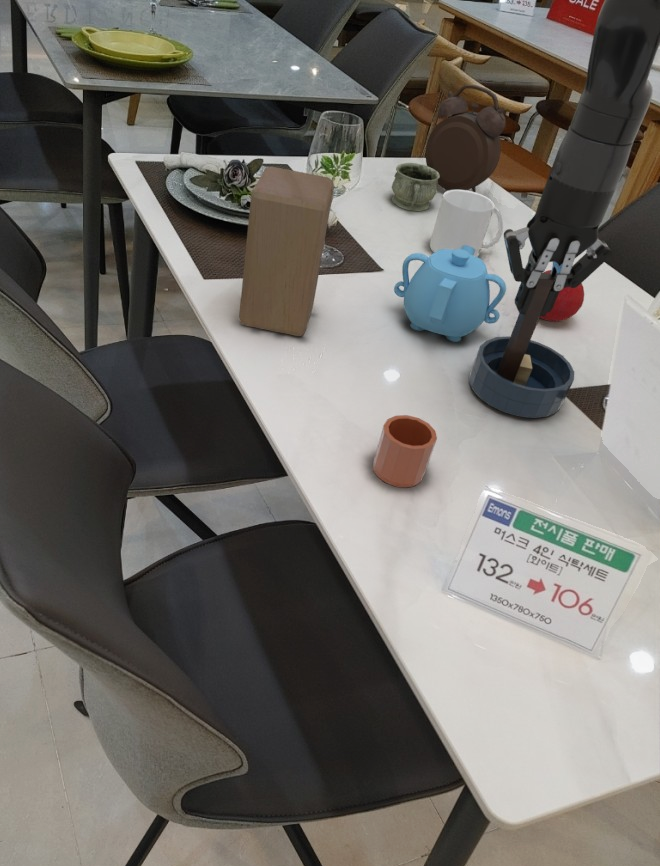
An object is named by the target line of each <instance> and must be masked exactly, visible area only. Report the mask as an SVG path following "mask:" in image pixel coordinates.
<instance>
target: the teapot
mask: <svg viewBox="0 0 660 866" xmlns="http://www.w3.org/2000/svg"><path fill="white" fill-rule="evenodd" d="M474 253H475V249H474V248H473V247H470V246H467V245H463V246H462V247H461V249H454V250H451V249H441V250H438V251H436V252H432V254H431V255H429V256H428V255H426V254H425V253H422V252H414V253H411V254H408V256H407V257H405V259H404V261H403V263H402V266H401V267H402V269H401V270H402V281H397V282H396V283H395V285H394V286H393V292H394V294H395V295H396V296H398V297H399V298H403V308H404V311H405V313H406V316H407V318H408V320H409V322H411V323H410V327H411V329H413V330H415V331H420V332H422V331H424V330H425V331H427V332H428V331H429V332H432V333H435V334H437V335H438V334H439V335H443V336H445V337H446V339H447V340H449V341H450V342H455V343H458V342H460V341H461V340H462V337H464V336H467V335H469V334H470V333H473V332H474V331H475V330H476V329H478V328H479V327H481V325H482V324H483V322H485V323H486V324H489V325H491V324H496V323H497V322H498V320H499V319H500V312H499V311H498V309H495V308H496V307H497V306H498V305H499V304H500V302H501V301H502V300H503V298H504V297H505V294H506V291H507V285H506V282H505V280H504V279H503V278H502V277H501V276H499V275H497V274H494V273H488V270H487V264H486V263H485V262H484V261H483V260H482V259H481V258H480V257H479V256H478V257H476V256H473V255H474ZM412 261H420V262H422V264H421V265H420V266H419V268H418V269H417V270H416V271H415V273H414V274H413V276H412V277H411V279H410V275H409V266H410V263H411V262H412ZM490 282H493V283H495V284H496V285H497V286H498V287H499V291H498V294H497V295H496V297H495V298H494V299H493V301H492V302H491V303H490V300H491V287H490ZM400 287H403V290H402V289H400ZM491 314H493V315H494V316H493V317H492V316H490V315H491Z"/></svg>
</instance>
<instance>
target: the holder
mask: <svg viewBox="0 0 660 866" xmlns="http://www.w3.org/2000/svg"><path fill="white" fill-rule="evenodd" d="M436 432H437V431H436V430H435V428H434V427H433V426H432V425H431V424H430V423H429V422H427V421H425V420H423V419H422V418H419V417H417V416H412V415H408V414H407V415H406V414H402V415H393V416H391V417H389V418H388V419H386V420H385V422H384V424H383V425H382V429H381V433H380V437H379V441H378V443H377V447H376V451H375V454H374V458H373V465H372V469H373V472H374V473H375V475H376V476H377V477H378V478H379V479H380V480H381V481H382V482H384V483H386V484H387V485H390V486H393V487H397V488H411V487H415V486H417V485H419V484H420V483H421V482H422V480H423V479H424V476H425V474H426V472H427V468H428V466H429V463H430V460H431V457H432V454H433V451H434V448H435V446H436V443H437V440H438V438H437V437H438V436H437V433H436Z"/></svg>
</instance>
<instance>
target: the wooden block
mask: <svg viewBox="0 0 660 866" xmlns="http://www.w3.org/2000/svg"><path fill="white" fill-rule="evenodd" d="M334 183H335V182H334V180H333V179H331V178H330V177H328V176H323V175H318V174H314V173H307V172H303V171H297V170H292V169H287V168H282V167H277V166H271V165H270V166H266V167H265V168H264V169H263V171H262V173H261V175H260V177H259V178H258V180H257V183H255V186H254V188H253V190H252V191H251V193H250V194H251V195H250V205H249V213H248V214H249V215H248V224H247V235H246V243H245V244H246V245H245V252H244V262H243V264H244V265H243V272H242V282H241V283H242V284H241V292H240V302H239V304H240V305H239V312H238V319H239V323H240V324H241V325H243V326H245V327H251V328H256V329H261V330H266V331H272V332H275V333H280V334H286V335H291V336H295V337H301V336H303V335H304V334H305V332H306V331H307V328H308V325H309V321H310V318H311V314H312V311H313V307H314V304H315V297H316V292H317V286H318V282H319V281H318V280H319V275H320V269H321V264H322V259H323V258H322V257H323V252H324V247H325V241H326V235H327V231H328V230H327V229H328V223H329V218H330V212H331V206H332V200H333V194H334V191H335V189H334V188H335V184H334Z"/></svg>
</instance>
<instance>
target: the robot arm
mask: <svg viewBox="0 0 660 866" xmlns="http://www.w3.org/2000/svg"><path fill="white" fill-rule="evenodd" d="M595 23H596V24H595V27H594V32H593V37H592V43H591V46H590V47H591V48H590V52H589V59H588V64H587V72H586V81H585V84H584V87H583V89H582V92H581V95H580V97H579V100H578V102H577V104H576V108H575V110H574V114H573V116H572V118H571V121H570V124H569V126H568V129H567V131H566V133H565V135H564V137H563V139H562V141H561V143H560V145H559V147H558V150H557V153H556V156H555V158H554V161H553V163H552V166H551V169H550V172H549V174H548V177H547V180H546V183H545V185H544V188H543V190H542V193H541V196H540V199H539V201H538V204H537V207H536V211H535V213H534V215H533V217H532V218H531V219H529V221H528V222H527V224H526V226H525V227H522V228H520V229H517V230H513V229H512V228H508V229H506V230H505V231H504V232H503V239H504V244H505V245H504V246H505V250H506V256H507V260H508V265H509V271H510V273H511V274H512V277H513V279H514V281H515V282H517V283H519V282H520V284H519V287H518V290H517V293H516V294H515V298H514V304H515V307H516V309H517V311H518V314H519V313H520V314H526V312H527V310H528V307H529V305H530V302H531V300H532V297H533V295H534V292H535V290H536V289H535V287H534V286H535V285H536V283H537V281H538V279H539V277H540V275H541V273H544V272H546V270H547V267H548V265H549V263H552V266H551V269H550V270H551V273H550V274H551V276H552V278H553V279H554V283H553V285H552V288H551V290H550V292H549V295H548V297H547V300H546V302H545V305H544V307H543V310H542V312H541V315H540V316H545V315H546V313H547V312H550V311H551V310H552V309H553V306H554V304H555V302H556V299H557V297H558V295H559V292H560V291H561V290H562V289H563V288H566V287H571V288H576V287H578V286H579V285H580V284H581V283H582V284H583V282H584V281H586V279H588V278H589V277H590V276H591V275H592V274H593V273H595V271H597V269H598V268H600V267H601V265H603V264H604V263H605V262H606V261H607V260H609V258H611V256H612V250H611V249H610V247H609V246H608V245H607V243H606V242H605V240H600V239H599V226H600V225H601V223H602V222H603V220H604V217H605V215H606V213H607V211H608V209H609V206H610V203H611V201H612V199H613V197H614V195H615V192H616V190H617V188H618V186H619V183H620V182H621V181H622V179H623V176H624V172H625V170H626V166H627V163H628V161H629V158H630V154H631V151H632V147H633V145H634V141H635V140H636V138H637V135H638V133H639V130H640V127H641V125H642V123H643V121H644V119H645V116H646V114H647V111H649V107H650V103H651V100H652V96H653V91H654V90H653V86H652V83H651V82H650V81H649V76H650V73H651V70H652V67H653V64H654V60H655V57H656V54H657V52H658V49H659V47H660V0H604V2H603V4H602V6H601V7H600V11H599V13H598V16H597V20H596V22H595ZM527 239H529V242H530V246H531V250H530V252H529V255H528V258H527V263H526V265H525V267H523V260H522V255H521V250H523V248H524V247H525V245H526V240H527ZM584 252H586V253H584ZM583 253H584V254H583ZM582 254H583V256H581V255H582ZM579 256H581V257H580V258H579V259H578V260H577V261H576V262H575V259H576V258H578V257H579ZM574 262H575V263H574Z"/></svg>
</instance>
